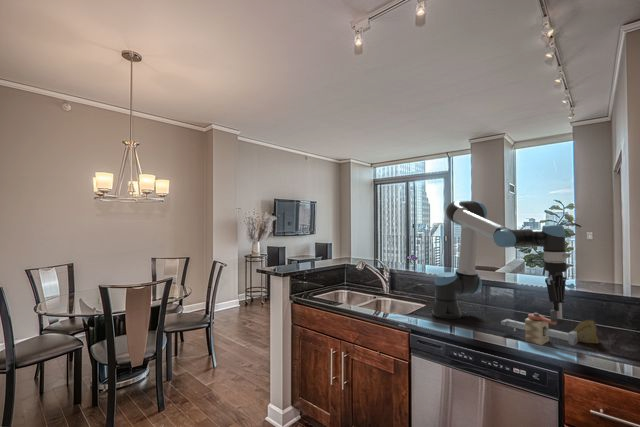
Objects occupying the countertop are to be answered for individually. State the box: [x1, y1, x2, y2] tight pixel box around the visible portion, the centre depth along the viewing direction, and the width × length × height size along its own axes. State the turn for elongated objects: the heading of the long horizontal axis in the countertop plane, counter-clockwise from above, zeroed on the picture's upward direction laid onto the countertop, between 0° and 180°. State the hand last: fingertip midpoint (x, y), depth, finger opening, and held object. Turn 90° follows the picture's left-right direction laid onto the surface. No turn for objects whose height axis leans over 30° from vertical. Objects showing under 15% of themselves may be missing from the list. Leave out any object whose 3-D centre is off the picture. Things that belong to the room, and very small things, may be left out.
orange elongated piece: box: [527, 309, 558, 326], centre depth 134 cm, size 12×6×6 cm, turn 14°
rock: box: [571, 319, 600, 344], centre depth 137 cm, size 11×9×10 cm
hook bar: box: [500, 318, 578, 346], centre depth 137 cm, size 27×6×4 cm, turn 35°
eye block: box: [524, 317, 550, 346], centre depth 137 cm, size 6×8×10 cm
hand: (557, 318), depth 131 cm, fingers closed
